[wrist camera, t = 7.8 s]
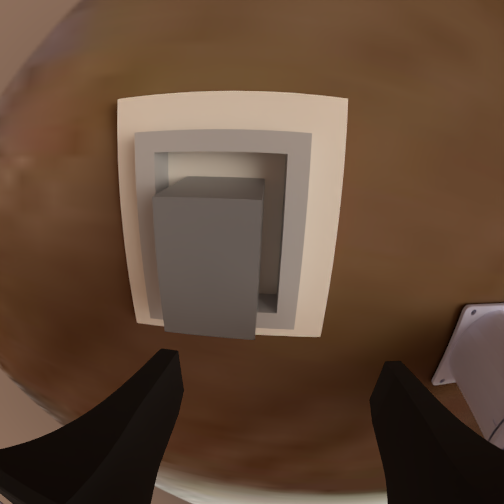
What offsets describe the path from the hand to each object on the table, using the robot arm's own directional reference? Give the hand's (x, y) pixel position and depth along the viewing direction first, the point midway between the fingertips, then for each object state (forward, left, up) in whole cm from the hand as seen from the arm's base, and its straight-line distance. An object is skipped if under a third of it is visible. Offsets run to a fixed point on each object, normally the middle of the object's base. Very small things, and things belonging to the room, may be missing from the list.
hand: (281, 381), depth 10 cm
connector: (+3, -2, -8) cm, 9 cm away
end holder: (+3, -3, -9) cm, 10 cm away
